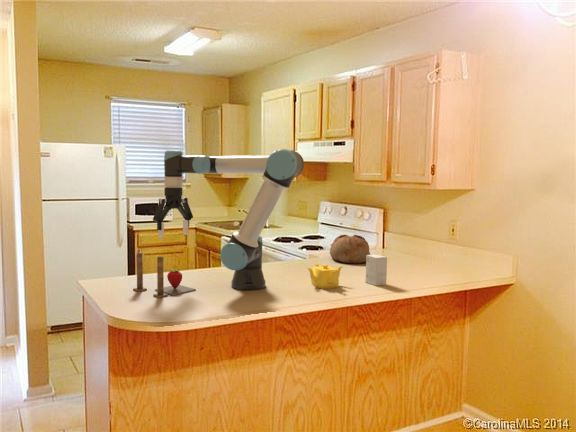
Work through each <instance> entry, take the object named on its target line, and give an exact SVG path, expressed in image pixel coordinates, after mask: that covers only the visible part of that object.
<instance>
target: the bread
mask: <svg viewBox="0 0 576 432" xmlns="http://www.w3.org/2000/svg"><path fill="white" fill-rule="evenodd" d="M329 255H330V257H331V258H332V260H335V261H336V262H341V263H344V264H354V265H355V264H356V265H359V264H364V263H365V264H366V256H367V255H371V253H370V245H369V242H368V241H367V240H366V238H364V237H363V236H361V235H358V234H354V235H351V236H350V235H347V234H341V235H339V236H337V237H336V238H334V239H333V242H332V244H331V246H330V249H329Z"/></svg>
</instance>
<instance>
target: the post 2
mask: <svg viewBox="0 0 576 432" xmlns="http://www.w3.org/2000/svg"><path fill="white" fill-rule="evenodd" d="M156 262H157V264H156V266H157V267H156V273H157V275H156V277H157V278H156V279H157V282H156V283H157V287H156V289H157V291H156V292H157V293H153V295H152V296H153V297H154V298H158V299H161V298H166V297H168V295H169V294H165V293H164V257H163V256H157V260H156Z"/></svg>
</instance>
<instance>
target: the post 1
mask: <svg viewBox="0 0 576 432" xmlns="http://www.w3.org/2000/svg"><path fill="white" fill-rule="evenodd" d="M143 258H144V254H143V252H136V287H135V288H132V291H133V292H136V293H140V292H145V291H147V290H148V289H147V288H146V287H144V275H143V273H144V265H143V264H144V263H143V262H144V259H143Z"/></svg>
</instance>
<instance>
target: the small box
mask: <svg viewBox="0 0 576 432" xmlns="http://www.w3.org/2000/svg"><path fill="white" fill-rule="evenodd" d="M365 264H366V265H365V283H367V284H370V285H372V286H376V287H377V286H384V285H385V286H386V285H387V272H388V271H387V270H388V257H387V256H383V255H379V254H370V255H367V256H366V262H365Z"/></svg>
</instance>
